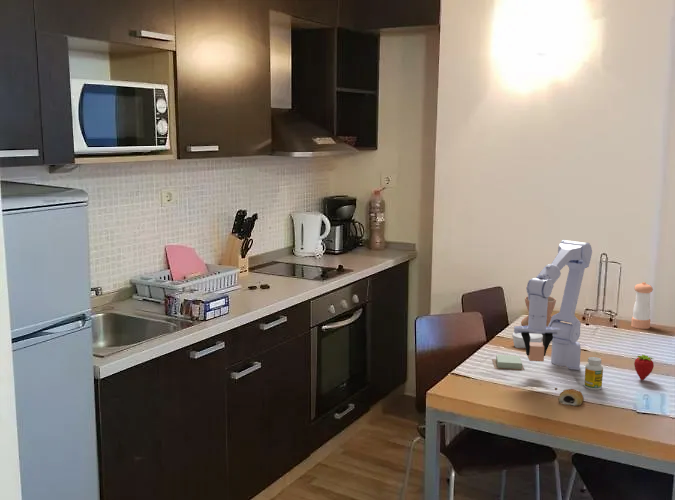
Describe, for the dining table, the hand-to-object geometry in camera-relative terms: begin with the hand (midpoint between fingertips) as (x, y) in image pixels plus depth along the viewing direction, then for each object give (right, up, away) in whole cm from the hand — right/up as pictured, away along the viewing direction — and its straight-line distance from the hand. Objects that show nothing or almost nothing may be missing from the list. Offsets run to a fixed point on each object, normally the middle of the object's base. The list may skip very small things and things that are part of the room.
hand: (535, 354), depth 229 cm
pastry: (+6, -12, -17) cm, 22 cm away
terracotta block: (0, -1, 0) cm, 1 cm away
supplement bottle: (+17, -10, -6) cm, 20 cm away
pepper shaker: (+63, +2, +64) cm, 90 cm away
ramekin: (+7, -3, +35) cm, 36 cm away
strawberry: (+36, -9, +1) cm, 37 cm away
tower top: (-6, -5, +12) cm, 14 cm away
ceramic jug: (+17, +1, +56) cm, 59 cm away
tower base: (-6, -7, +12) cm, 15 cm away
